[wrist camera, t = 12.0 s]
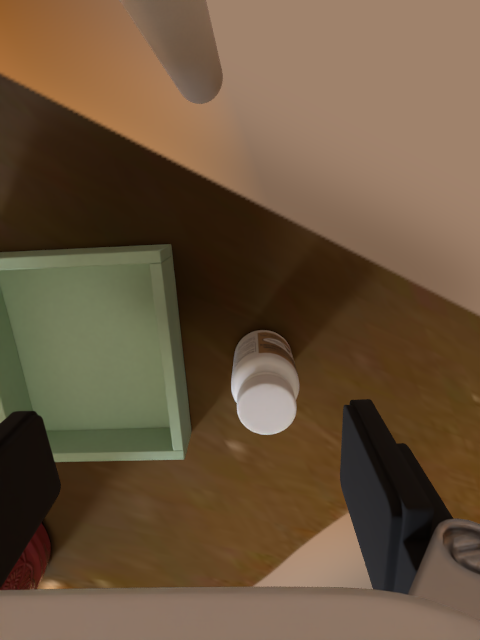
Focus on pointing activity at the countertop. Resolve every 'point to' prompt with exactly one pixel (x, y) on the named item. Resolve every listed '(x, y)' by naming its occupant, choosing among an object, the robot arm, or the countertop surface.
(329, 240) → the countertop surface
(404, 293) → the countertop surface
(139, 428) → the tray
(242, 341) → the pill bottle
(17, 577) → the kitchen canister
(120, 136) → the countertop surface
